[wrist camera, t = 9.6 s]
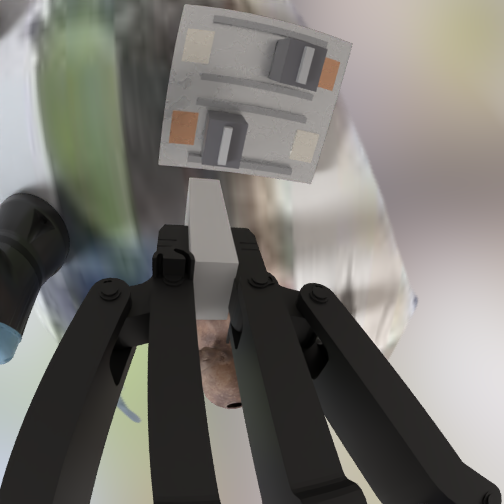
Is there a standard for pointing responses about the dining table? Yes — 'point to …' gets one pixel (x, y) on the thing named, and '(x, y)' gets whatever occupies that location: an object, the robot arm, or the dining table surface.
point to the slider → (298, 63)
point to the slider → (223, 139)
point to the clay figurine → (217, 363)
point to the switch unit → (248, 93)
